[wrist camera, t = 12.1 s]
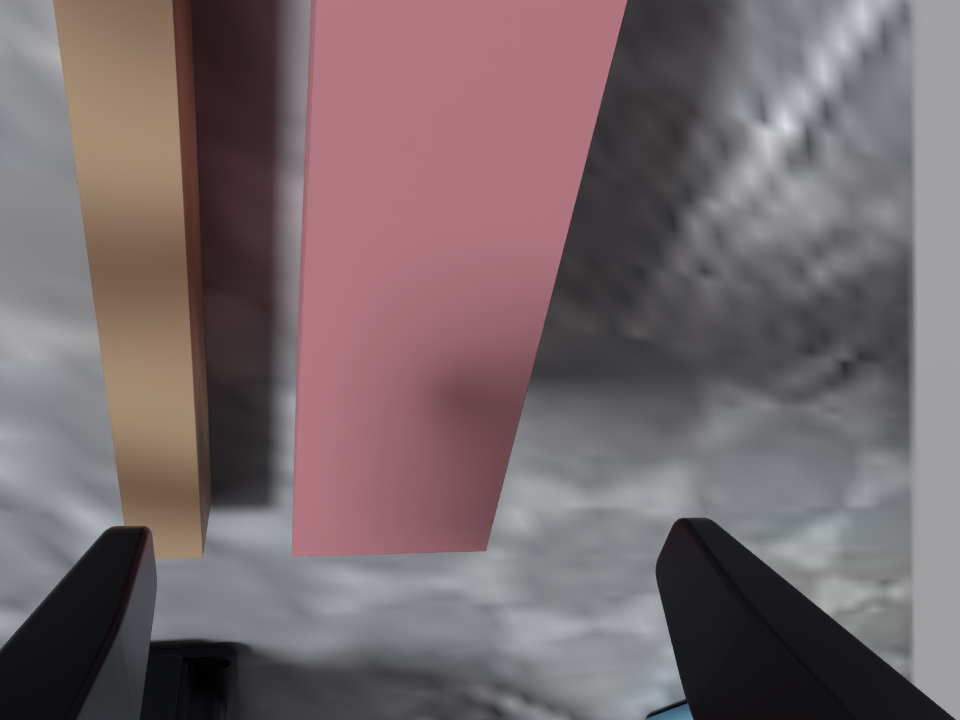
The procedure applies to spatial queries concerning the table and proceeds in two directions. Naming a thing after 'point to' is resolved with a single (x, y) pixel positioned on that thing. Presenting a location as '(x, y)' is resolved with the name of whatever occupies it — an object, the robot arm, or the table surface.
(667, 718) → the data package
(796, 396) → the table surface
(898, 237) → the table surface
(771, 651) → the robot arm
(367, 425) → the boxed book
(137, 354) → the rail
